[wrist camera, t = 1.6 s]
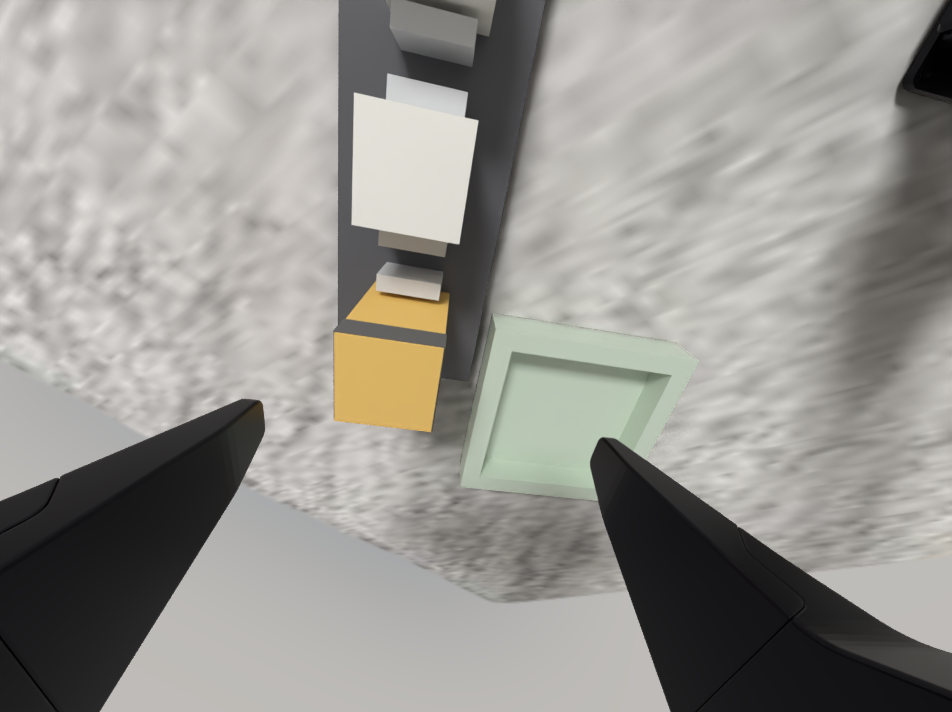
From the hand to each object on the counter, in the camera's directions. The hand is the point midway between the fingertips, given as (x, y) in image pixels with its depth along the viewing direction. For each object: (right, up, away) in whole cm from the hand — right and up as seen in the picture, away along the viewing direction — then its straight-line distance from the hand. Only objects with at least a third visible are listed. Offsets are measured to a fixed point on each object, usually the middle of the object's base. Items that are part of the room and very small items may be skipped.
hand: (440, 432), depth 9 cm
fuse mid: (-1, +11, +7) cm, 13 cm away
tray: (+7, -2, +16) cm, 17 cm away
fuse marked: (-3, +4, +11) cm, 12 cm away
